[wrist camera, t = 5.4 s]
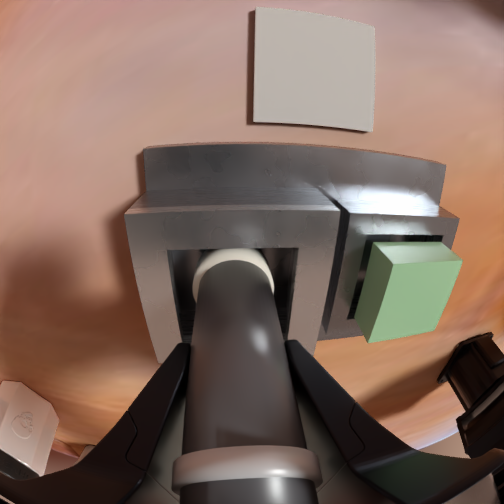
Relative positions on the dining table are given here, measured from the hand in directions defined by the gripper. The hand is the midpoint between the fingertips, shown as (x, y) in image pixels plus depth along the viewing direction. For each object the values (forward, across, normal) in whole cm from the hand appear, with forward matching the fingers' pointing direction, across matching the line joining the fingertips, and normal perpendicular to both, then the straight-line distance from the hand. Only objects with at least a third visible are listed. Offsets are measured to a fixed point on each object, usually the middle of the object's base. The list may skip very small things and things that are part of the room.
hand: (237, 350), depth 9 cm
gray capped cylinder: (+4, 0, 0) cm, 4 cm away
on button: (+4, -8, 0) cm, 9 cm away
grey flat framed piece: (+7, -4, 0) cm, 8 cm away
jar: (+7, +26, +20) cm, 34 cm away
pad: (+7, -4, -10) cm, 13 cm away
